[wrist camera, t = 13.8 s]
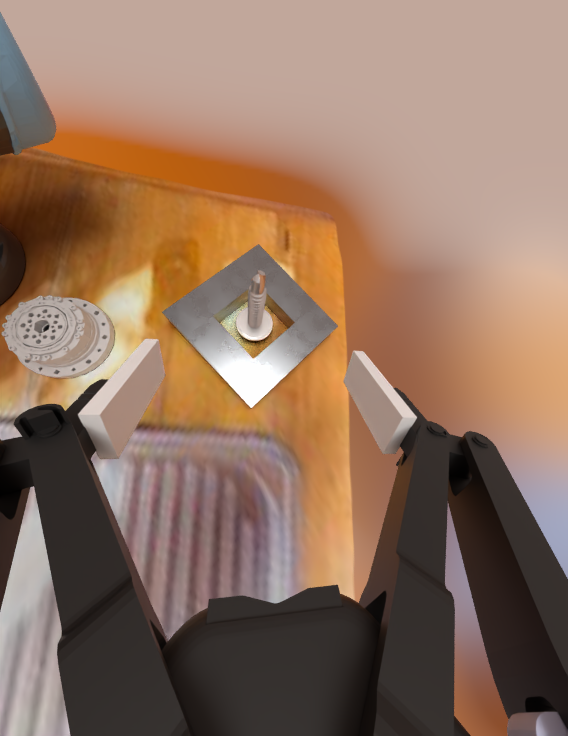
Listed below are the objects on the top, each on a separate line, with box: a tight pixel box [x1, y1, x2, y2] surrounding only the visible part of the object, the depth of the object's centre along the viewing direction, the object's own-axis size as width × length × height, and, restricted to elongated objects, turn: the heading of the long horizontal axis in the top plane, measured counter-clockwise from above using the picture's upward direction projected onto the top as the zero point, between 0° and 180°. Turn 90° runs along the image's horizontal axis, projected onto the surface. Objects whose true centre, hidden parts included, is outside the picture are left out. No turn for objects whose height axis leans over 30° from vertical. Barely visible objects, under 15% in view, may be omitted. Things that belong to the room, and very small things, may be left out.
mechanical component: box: [2, 295, 115, 378], centre depth 27 cm, size 10×4×10 cm
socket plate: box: [162, 244, 338, 408], centre depth 31 cm, size 16×16×3 cm
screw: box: [236, 270, 273, 341], centre depth 26 cm, size 13×5×5 cm
